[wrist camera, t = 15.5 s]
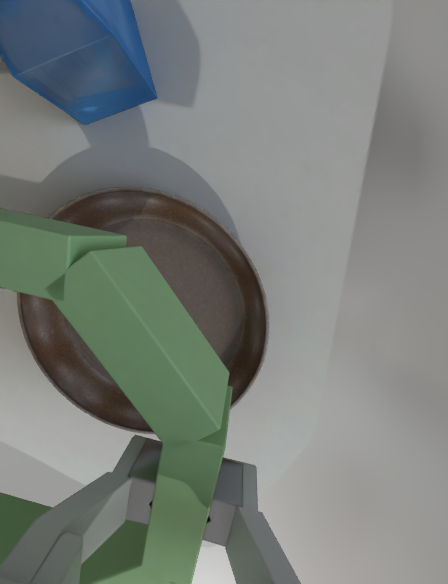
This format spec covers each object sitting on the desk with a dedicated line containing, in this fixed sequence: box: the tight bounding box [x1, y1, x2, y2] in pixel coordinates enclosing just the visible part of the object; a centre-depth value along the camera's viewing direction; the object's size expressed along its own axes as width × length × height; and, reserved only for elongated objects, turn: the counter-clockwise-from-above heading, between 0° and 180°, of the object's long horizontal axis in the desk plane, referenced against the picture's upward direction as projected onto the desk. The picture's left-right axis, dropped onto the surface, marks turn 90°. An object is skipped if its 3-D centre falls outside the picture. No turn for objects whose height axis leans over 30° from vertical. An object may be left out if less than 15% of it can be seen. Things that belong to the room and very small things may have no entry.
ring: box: [0, 208, 232, 584], centre depth 10 cm, size 16×16×3 cm
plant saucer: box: [17, 187, 269, 434], centre depth 21 cm, size 21×21×3 cm
